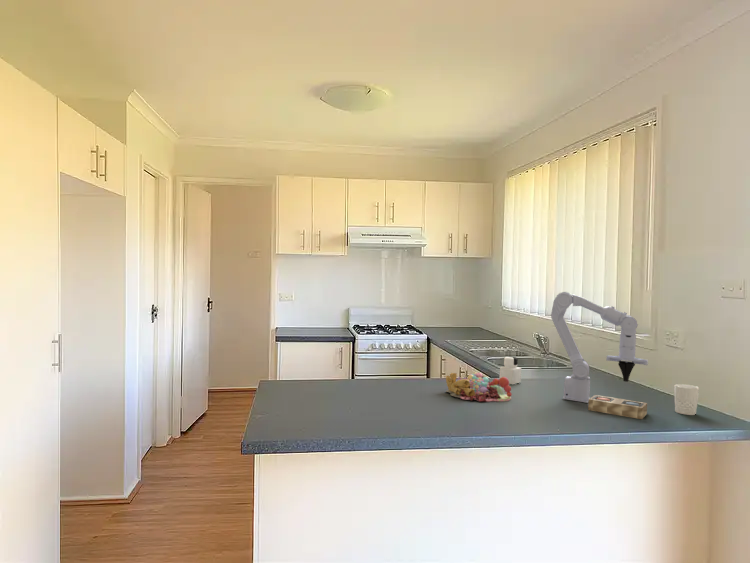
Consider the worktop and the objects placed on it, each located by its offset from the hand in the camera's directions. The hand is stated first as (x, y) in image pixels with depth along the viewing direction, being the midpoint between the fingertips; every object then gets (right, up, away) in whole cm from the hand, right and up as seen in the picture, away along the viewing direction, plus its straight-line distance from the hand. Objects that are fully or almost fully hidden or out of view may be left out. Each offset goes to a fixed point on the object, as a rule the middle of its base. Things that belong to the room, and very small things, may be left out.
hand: (625, 381), depth 202 cm
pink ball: (-13, -9, -8) cm, 17 cm away
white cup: (+18, -10, -9) cm, 23 cm away
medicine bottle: (-36, -8, +36) cm, 52 cm away
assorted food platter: (-57, -8, +8) cm, 58 cm away
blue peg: (-5, -9, -14) cm, 17 cm away
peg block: (-9, -9, -11) cm, 17 cm away
